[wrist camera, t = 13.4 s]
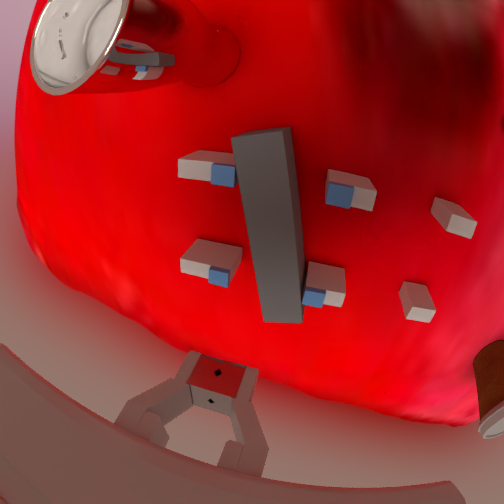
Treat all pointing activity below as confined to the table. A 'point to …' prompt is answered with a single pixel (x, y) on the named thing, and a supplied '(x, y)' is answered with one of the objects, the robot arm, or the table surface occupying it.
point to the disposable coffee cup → (490, 389)
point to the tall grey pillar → (273, 220)
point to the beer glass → (128, 46)
